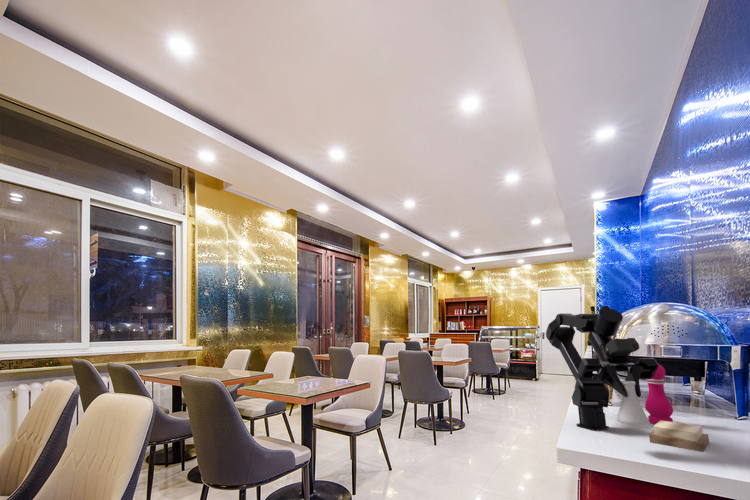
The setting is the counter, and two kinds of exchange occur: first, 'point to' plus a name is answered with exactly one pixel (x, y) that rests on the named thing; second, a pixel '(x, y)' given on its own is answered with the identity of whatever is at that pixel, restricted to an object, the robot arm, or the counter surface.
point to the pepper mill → (658, 399)
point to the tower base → (680, 442)
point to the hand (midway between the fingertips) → (633, 396)
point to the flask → (631, 407)
